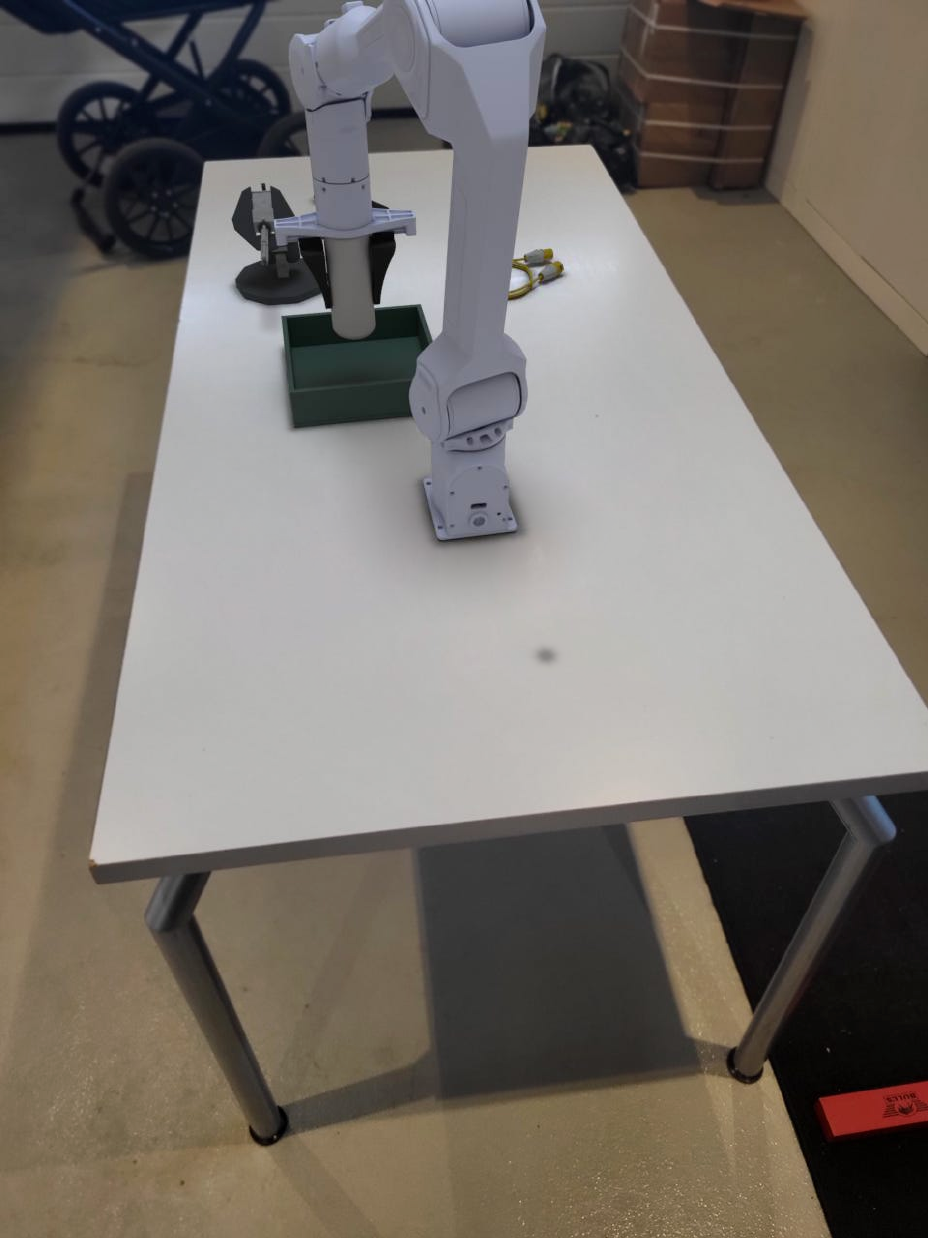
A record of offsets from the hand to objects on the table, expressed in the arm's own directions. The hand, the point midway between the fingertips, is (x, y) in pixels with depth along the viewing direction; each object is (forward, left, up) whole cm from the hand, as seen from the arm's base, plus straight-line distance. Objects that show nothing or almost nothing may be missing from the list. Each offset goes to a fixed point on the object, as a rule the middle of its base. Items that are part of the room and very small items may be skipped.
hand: (352, 302), depth 98 cm
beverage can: (0, 0, -4) cm, 4 cm away
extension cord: (+23, -23, -10) cm, 34 cm away
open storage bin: (+1, 0, -10) cm, 10 cm away
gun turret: (+24, +8, -10) cm, 28 cm away
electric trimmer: (+50, -4, -10) cm, 51 cm away
